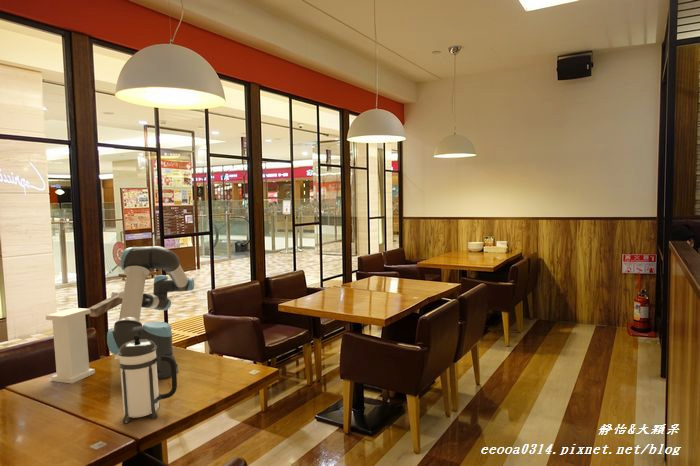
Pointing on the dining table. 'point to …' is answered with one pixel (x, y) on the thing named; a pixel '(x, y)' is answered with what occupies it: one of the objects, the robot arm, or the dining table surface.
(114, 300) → the walnut bar
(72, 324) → the white pedestal
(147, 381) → the coffee press
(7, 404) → the dining table surface
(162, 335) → the robot arm
